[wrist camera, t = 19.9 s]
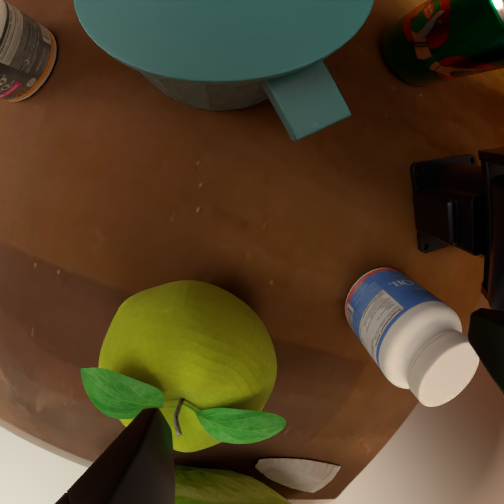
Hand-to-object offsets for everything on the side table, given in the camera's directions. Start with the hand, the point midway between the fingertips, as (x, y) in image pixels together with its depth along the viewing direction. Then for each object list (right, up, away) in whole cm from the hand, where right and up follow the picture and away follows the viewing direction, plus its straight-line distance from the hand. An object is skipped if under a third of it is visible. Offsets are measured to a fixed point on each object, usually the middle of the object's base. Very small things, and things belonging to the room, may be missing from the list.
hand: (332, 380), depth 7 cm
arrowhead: (+7, -22, +20) cm, 31 cm away
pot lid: (-3, +14, 0) cm, 15 cm away
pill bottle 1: (-18, +16, +7) cm, 25 cm away
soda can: (+9, +17, +10) cm, 22 cm away
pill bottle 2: (+7, 0, +15) cm, 16 cm away
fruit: (-6, -2, +14) cm, 15 cm away
